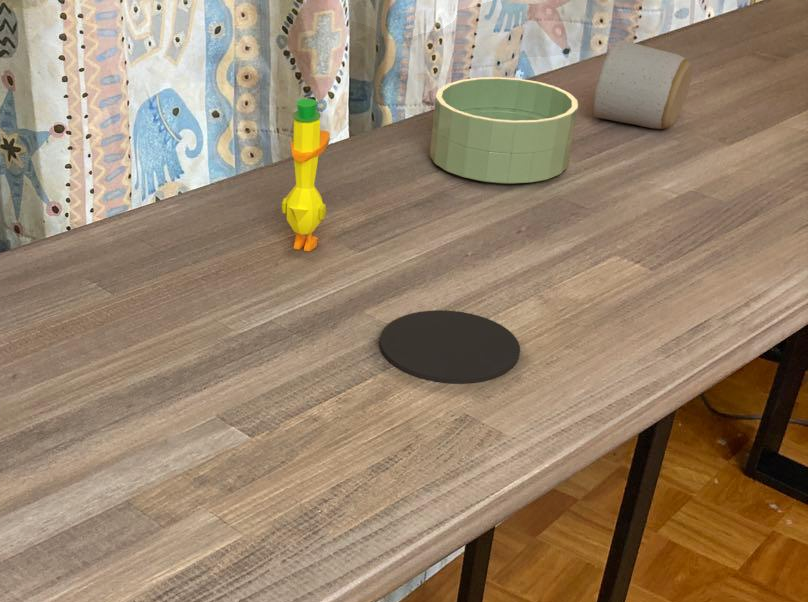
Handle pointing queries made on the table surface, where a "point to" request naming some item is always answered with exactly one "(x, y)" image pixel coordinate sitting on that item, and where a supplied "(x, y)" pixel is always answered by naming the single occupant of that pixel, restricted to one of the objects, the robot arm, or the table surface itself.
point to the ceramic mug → (642, 85)
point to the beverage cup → (527, 1)
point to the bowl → (503, 129)
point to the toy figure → (306, 175)
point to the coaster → (449, 346)
